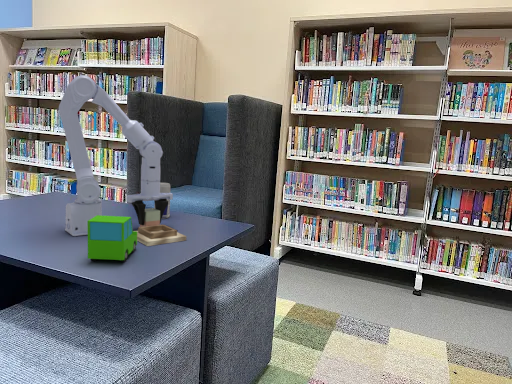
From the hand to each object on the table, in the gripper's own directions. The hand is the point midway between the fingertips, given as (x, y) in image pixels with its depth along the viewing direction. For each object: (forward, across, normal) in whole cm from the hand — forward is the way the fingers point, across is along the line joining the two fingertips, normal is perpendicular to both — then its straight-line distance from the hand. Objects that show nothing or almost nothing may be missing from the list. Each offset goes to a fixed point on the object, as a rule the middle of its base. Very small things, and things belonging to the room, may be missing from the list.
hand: (149, 223), depth 128 cm
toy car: (+2, -19, -20) cm, 28 cm away
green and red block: (+2, 0, 0) cm, 2 cm away
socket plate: (+2, -3, -11) cm, 12 cm away
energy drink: (+2, +11, +13) cm, 17 cm away
